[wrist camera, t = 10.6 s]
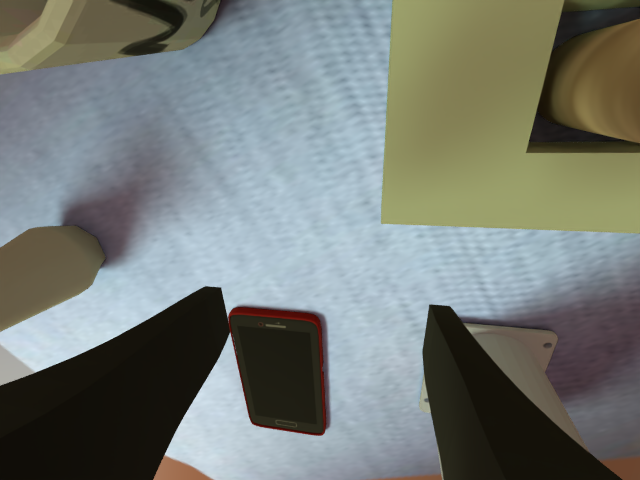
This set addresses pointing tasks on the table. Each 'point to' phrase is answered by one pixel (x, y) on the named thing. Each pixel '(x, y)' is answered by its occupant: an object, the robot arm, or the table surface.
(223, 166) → the table surface
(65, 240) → the salt shaker
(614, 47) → the tall peg
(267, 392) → the cell phone
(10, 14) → the mug
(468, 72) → the hole board
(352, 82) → the table surface
